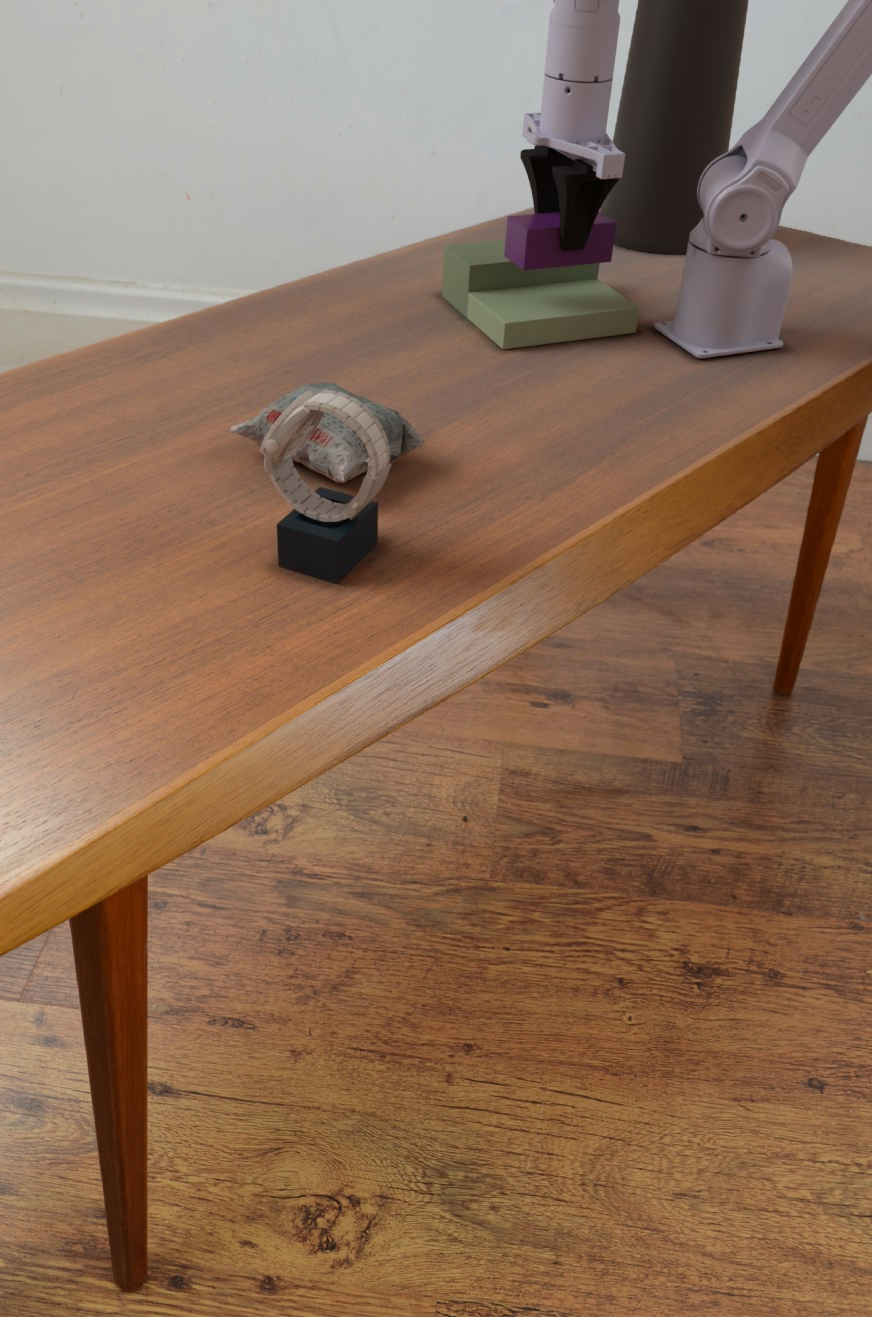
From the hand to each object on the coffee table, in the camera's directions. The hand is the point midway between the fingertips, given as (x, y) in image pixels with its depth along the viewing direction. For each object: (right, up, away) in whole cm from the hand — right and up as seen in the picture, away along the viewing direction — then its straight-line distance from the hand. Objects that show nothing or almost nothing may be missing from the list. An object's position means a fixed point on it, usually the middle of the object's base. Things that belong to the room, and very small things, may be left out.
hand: (560, 241), depth 104 cm
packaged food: (-19, -23, -19) cm, 36 cm away
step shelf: (-2, -4, +8) cm, 9 cm away
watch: (-18, -31, -29) cm, 46 cm away
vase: (+14, +11, +29) cm, 34 cm away
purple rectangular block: (0, -1, +1) cm, 2 cm away
